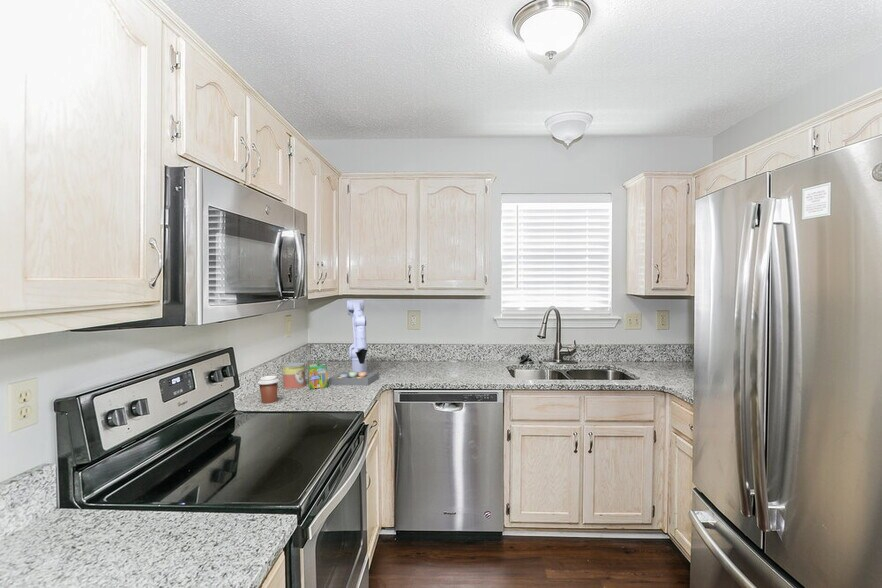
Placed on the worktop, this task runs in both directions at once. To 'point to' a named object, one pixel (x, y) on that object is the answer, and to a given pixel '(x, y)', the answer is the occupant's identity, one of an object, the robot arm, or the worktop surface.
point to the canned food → (294, 375)
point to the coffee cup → (268, 389)
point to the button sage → (352, 374)
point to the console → (354, 379)
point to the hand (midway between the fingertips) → (361, 363)
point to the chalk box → (317, 375)
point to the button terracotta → (362, 374)
